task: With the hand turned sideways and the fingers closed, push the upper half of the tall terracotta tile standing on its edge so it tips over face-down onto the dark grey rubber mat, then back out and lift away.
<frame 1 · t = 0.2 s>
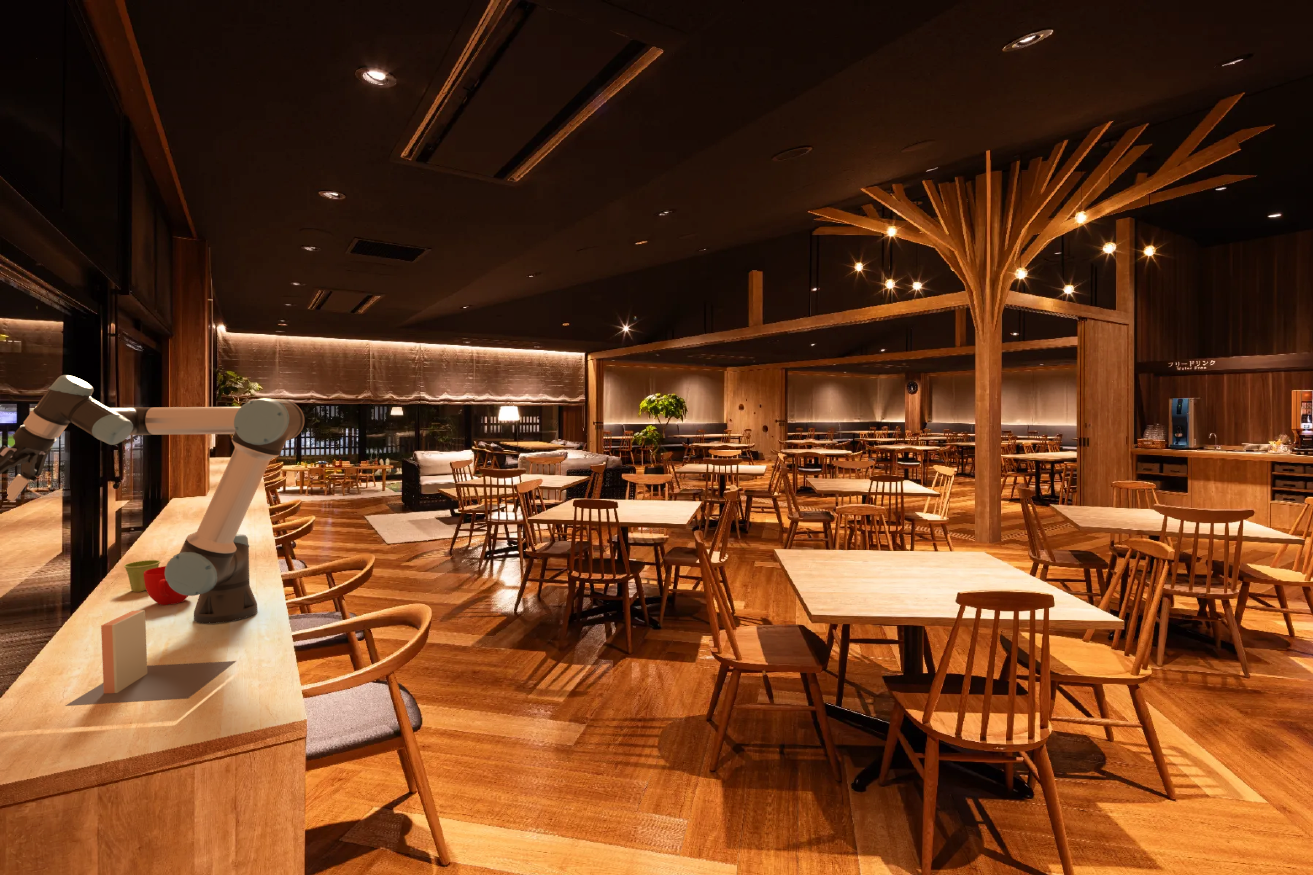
ceramic cup: (169, 604, 201), on the table
tile: (126, 683, 141), point 1 cm above the table, touching mat
mat: (157, 684, 142), on the table
plant pot: (143, 590, 217), on the table
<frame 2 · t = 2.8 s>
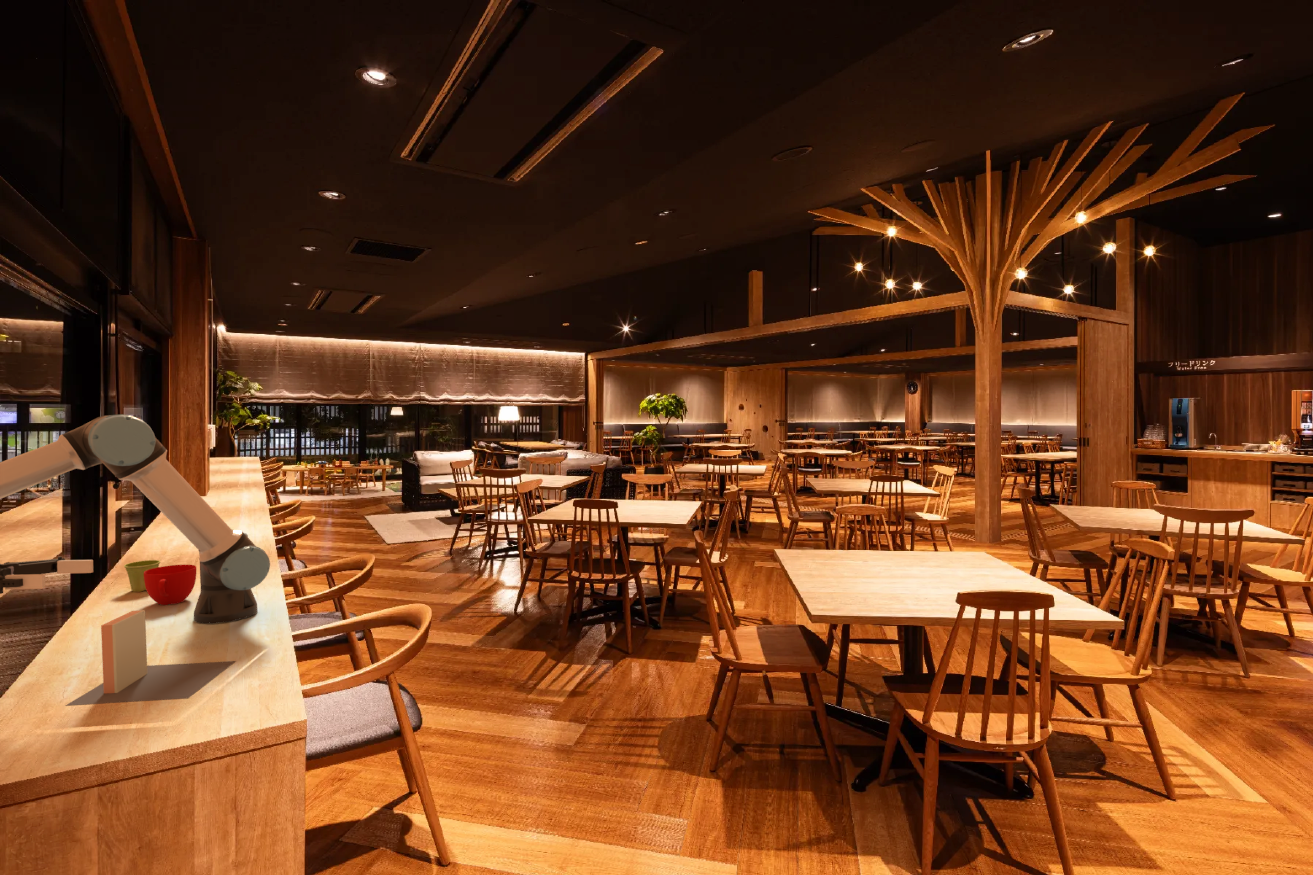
hand: (69, 573, 139), 24 cm above the table, tool horizontal, fingers open, 13 cm apart
nothing on the table moved.
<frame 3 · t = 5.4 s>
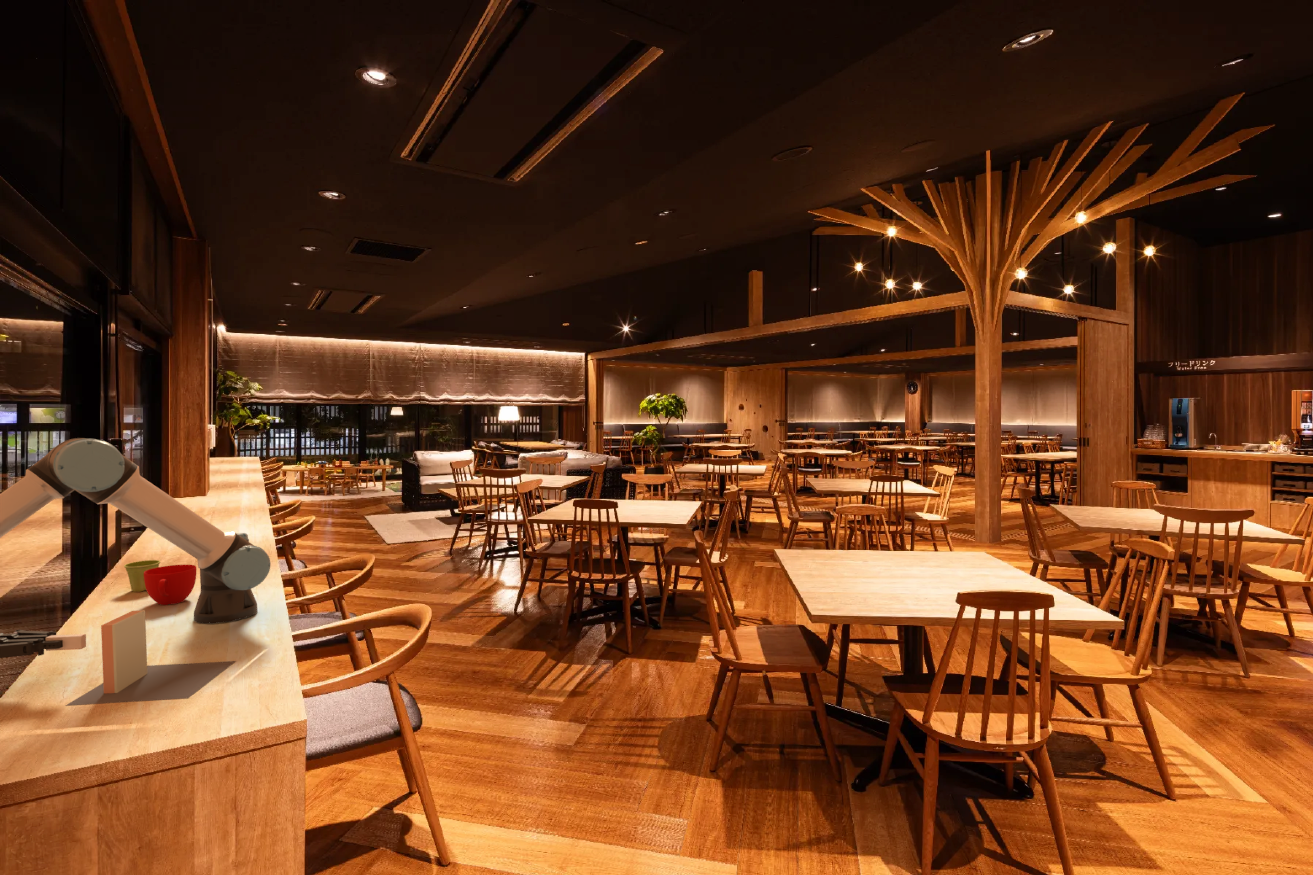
hand: (83, 641, 139), 10 cm above the table, tool horizontal, fingers closed
nothing on the table moved.
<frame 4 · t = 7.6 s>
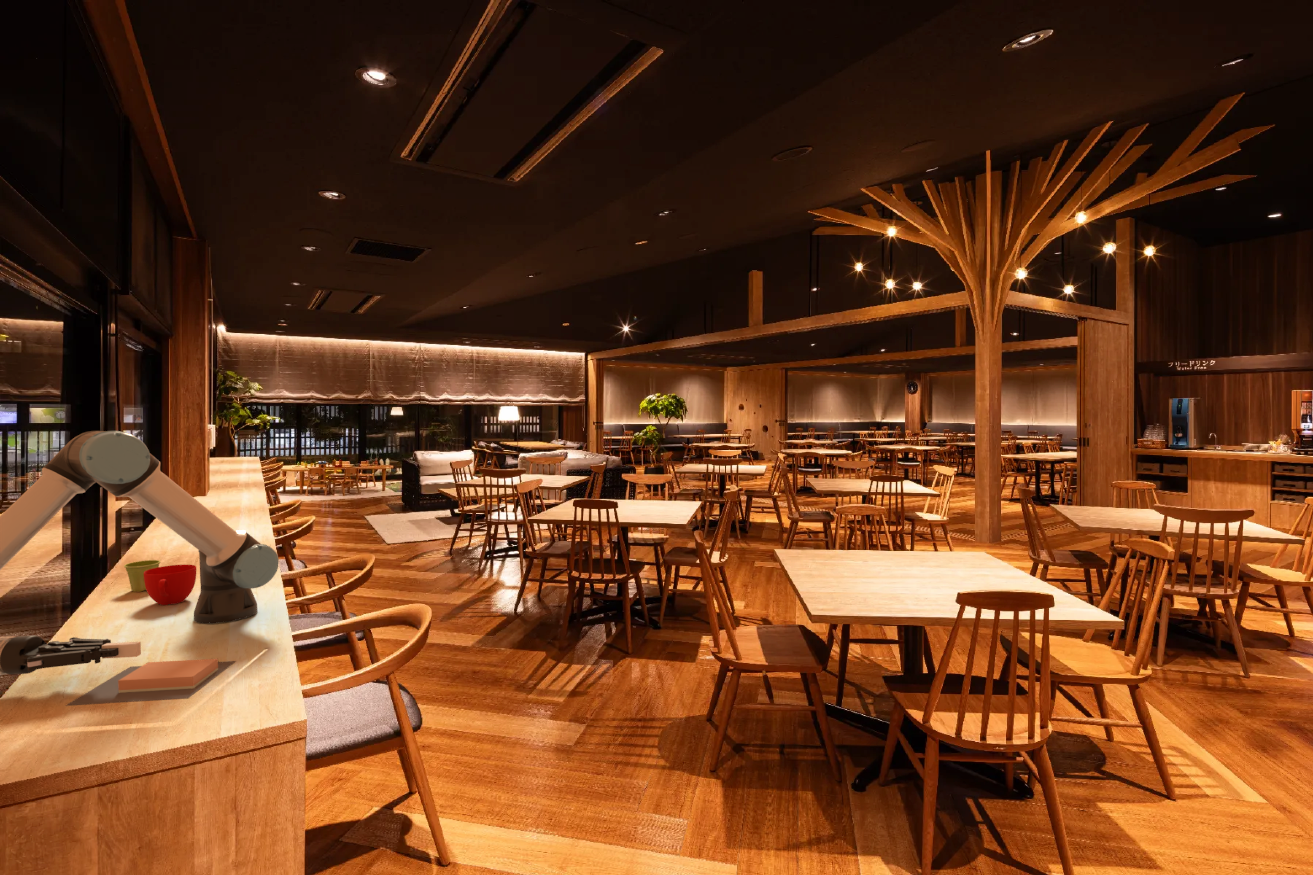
hand: (138, 649, 140), 8 cm above the table, tool horizontal, fingers closed
tile: (133, 676, 141), point 2 cm above the table, tilted 90°, touching mat
everything else where it was.
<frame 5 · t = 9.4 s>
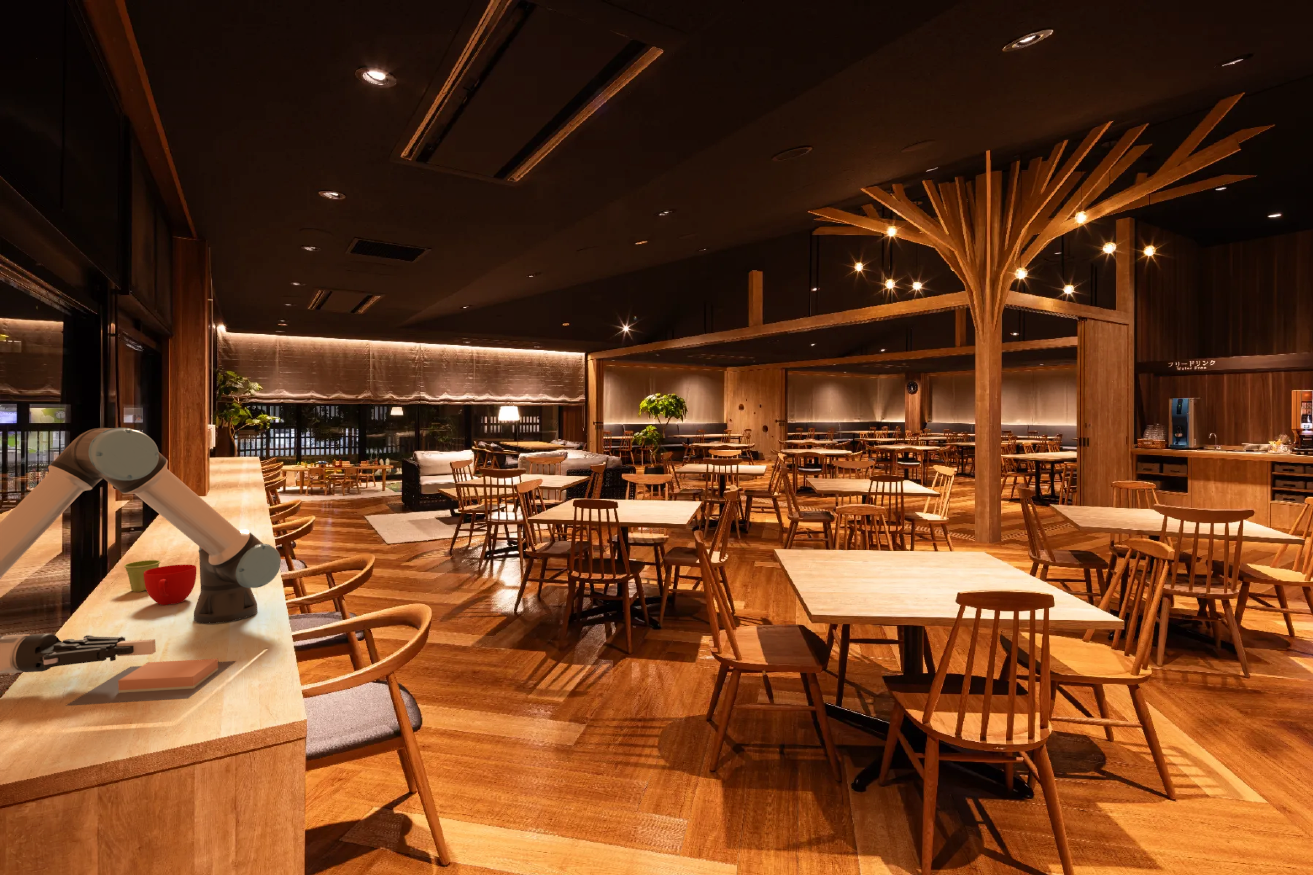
hand: (153, 646, 141), 8 cm above the table, tool horizontal, fingers closed
nothing on the table moved.
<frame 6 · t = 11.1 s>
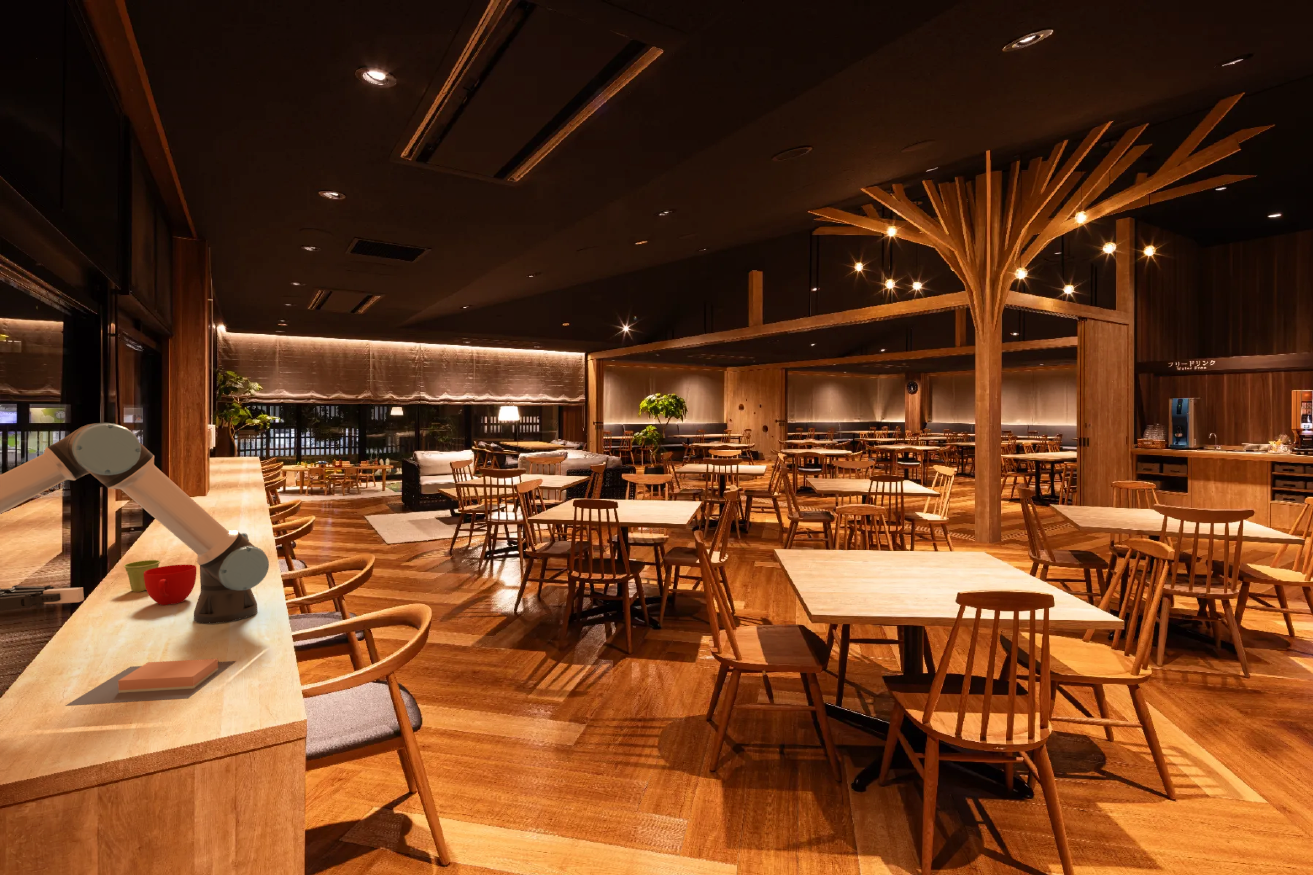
hand: (80, 594, 140), 20 cm above the table, tool horizontal, fingers closed
nothing on the table moved.
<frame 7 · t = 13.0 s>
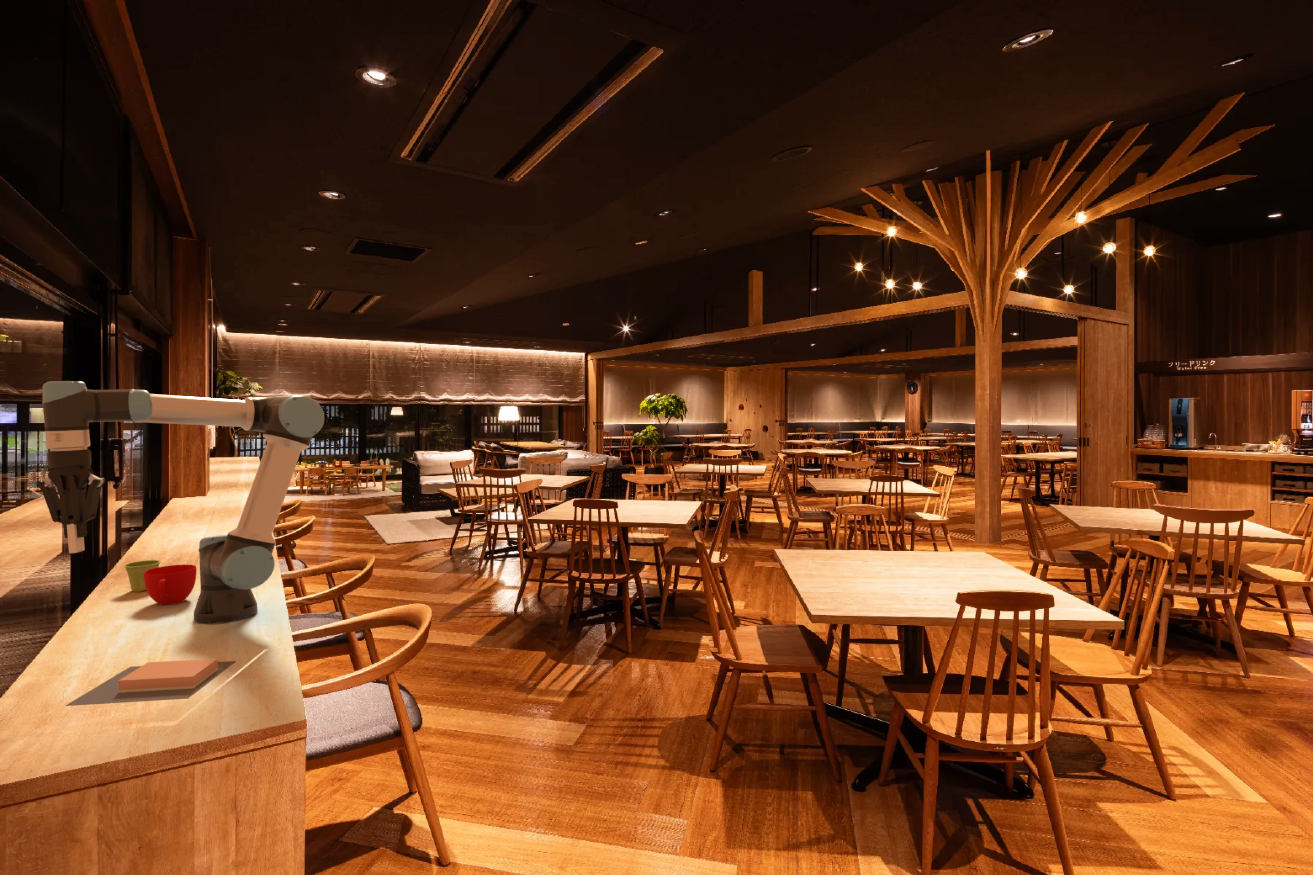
hand: (76, 551, 153), 26 cm above the table, tool pointing down, fingers closed
nothing on the table moved.
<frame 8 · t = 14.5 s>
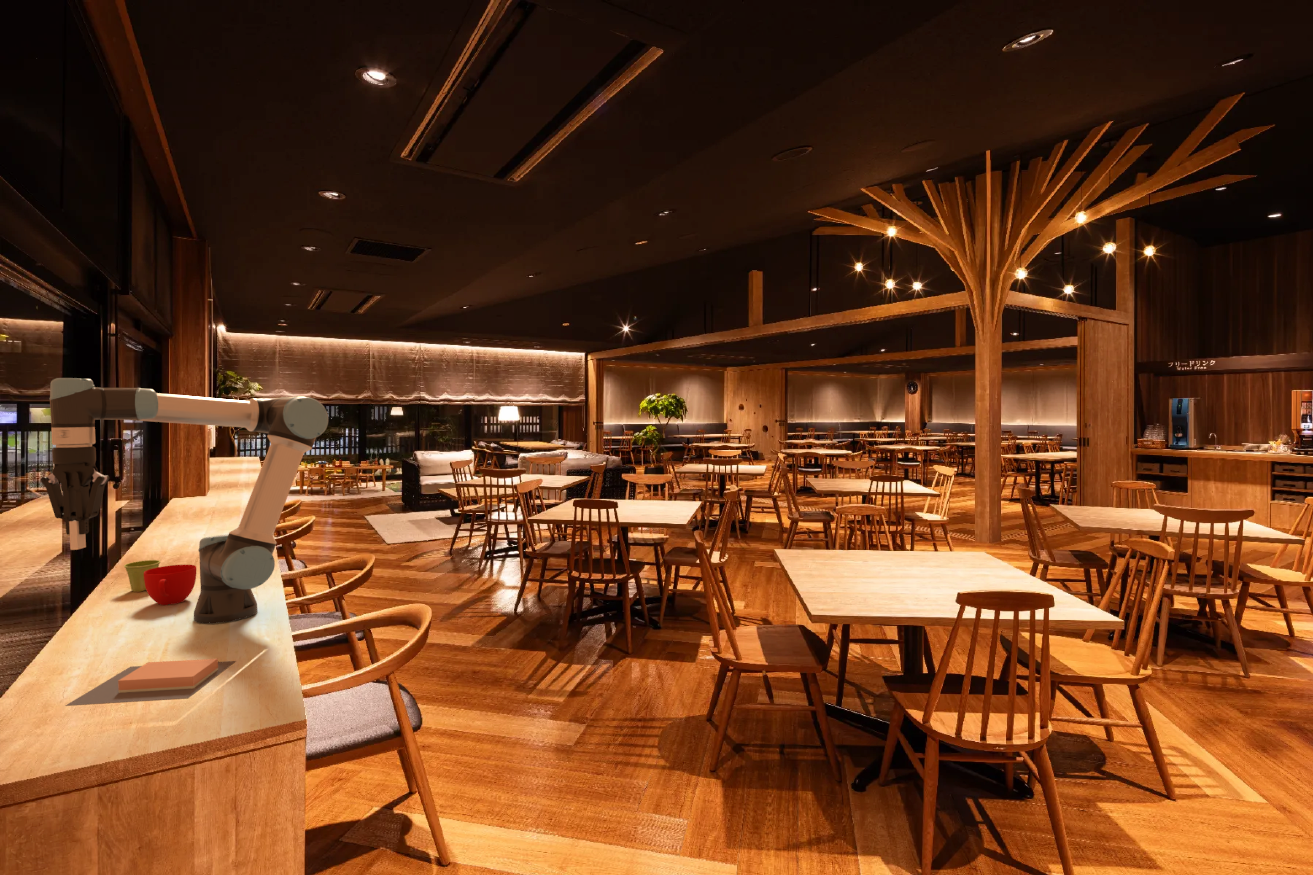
hand: (78, 548, 154), 26 cm above the table, tool pointing down, fingers closed
nothing on the table moved.
at the end: tile tilted 90°; tile inside the target area (0.8 cm from its centre), point 1.8 cm above the table; tile touching mat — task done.
